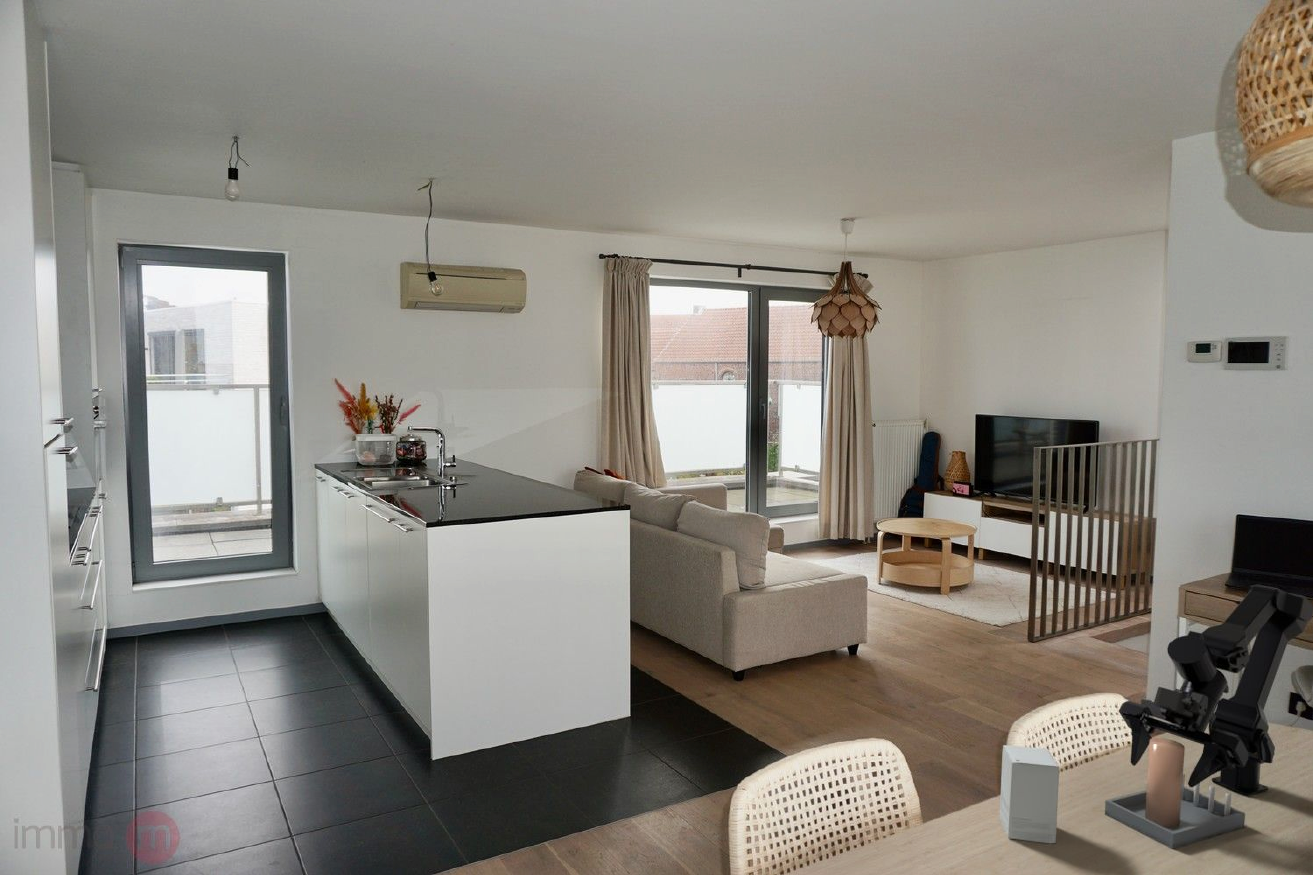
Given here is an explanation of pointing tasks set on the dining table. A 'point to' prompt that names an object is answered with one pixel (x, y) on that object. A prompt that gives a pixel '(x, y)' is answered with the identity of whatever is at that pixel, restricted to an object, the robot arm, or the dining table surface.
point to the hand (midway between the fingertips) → (1160, 774)
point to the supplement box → (1029, 794)
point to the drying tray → (1196, 816)
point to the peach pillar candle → (1164, 782)
